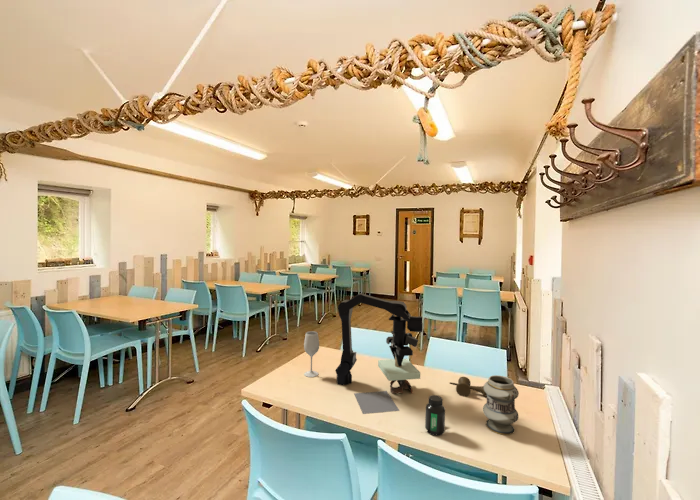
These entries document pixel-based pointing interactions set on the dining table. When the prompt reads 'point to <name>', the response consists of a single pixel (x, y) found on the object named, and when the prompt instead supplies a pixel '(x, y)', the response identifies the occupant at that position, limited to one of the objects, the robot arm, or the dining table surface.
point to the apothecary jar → (500, 404)
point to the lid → (398, 370)
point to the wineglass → (311, 349)
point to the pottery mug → (400, 386)
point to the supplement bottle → (435, 416)
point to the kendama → (467, 387)
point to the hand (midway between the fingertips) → (398, 364)
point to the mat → (375, 402)
